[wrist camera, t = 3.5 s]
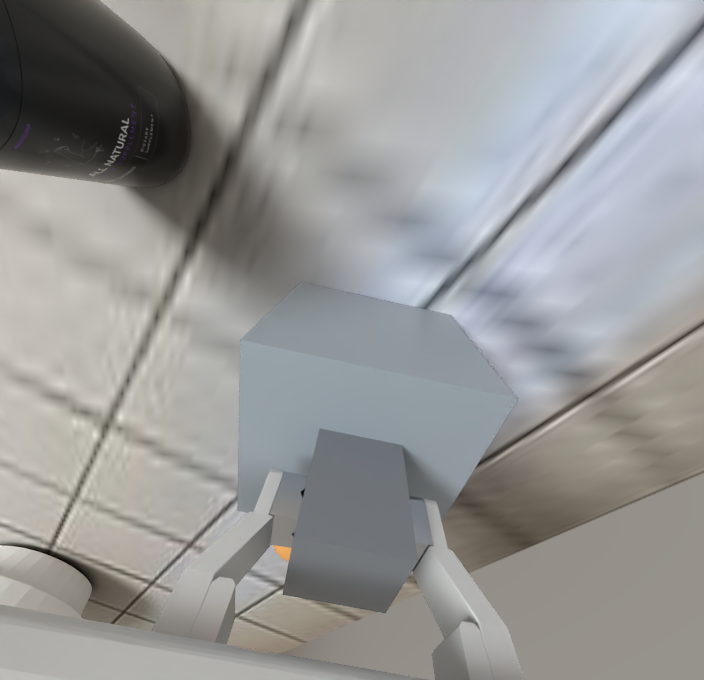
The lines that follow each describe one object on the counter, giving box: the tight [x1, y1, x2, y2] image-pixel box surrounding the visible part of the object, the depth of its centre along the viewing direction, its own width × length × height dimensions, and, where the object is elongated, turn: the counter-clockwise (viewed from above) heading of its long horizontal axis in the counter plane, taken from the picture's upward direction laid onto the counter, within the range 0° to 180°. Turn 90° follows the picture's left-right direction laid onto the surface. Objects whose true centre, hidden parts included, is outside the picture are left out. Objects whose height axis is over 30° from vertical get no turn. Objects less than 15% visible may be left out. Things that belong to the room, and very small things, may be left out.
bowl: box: [0, 545, 92, 619], centre depth 35 cm, size 22×22×8 cm
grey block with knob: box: [238, 282, 518, 613], centre depth 14 cm, size 10×10×13 cm
